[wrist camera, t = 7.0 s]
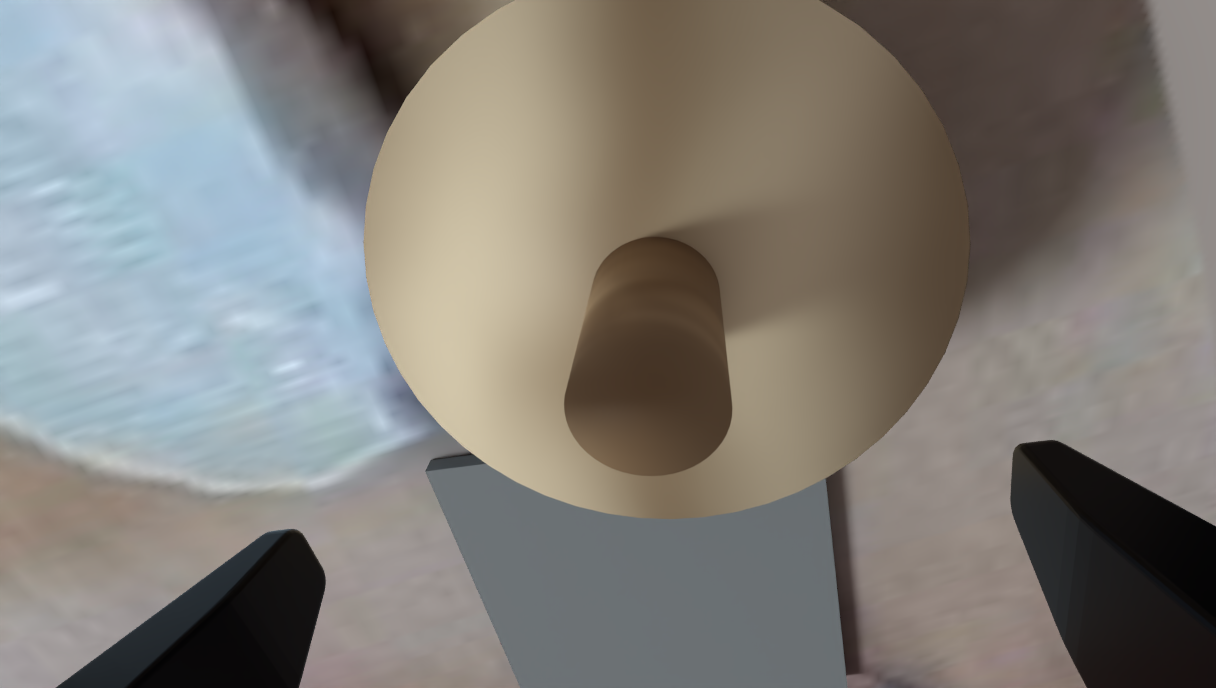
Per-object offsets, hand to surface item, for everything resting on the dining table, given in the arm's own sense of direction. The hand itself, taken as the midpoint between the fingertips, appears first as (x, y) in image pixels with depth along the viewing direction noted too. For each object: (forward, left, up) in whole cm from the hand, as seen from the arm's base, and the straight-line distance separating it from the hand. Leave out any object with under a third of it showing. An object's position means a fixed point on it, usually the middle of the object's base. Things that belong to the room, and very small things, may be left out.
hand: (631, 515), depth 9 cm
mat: (+3, +14, -12) cm, 19 cm away
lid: (0, 0, -7) cm, 7 cm away
